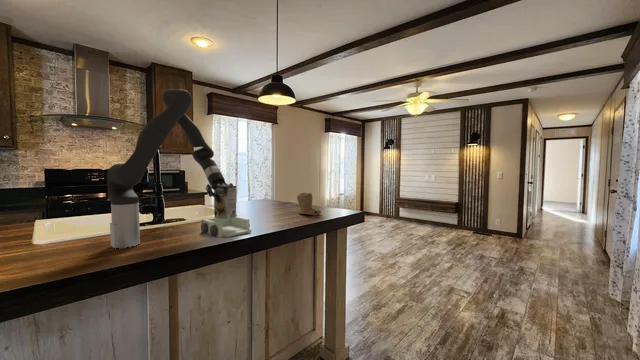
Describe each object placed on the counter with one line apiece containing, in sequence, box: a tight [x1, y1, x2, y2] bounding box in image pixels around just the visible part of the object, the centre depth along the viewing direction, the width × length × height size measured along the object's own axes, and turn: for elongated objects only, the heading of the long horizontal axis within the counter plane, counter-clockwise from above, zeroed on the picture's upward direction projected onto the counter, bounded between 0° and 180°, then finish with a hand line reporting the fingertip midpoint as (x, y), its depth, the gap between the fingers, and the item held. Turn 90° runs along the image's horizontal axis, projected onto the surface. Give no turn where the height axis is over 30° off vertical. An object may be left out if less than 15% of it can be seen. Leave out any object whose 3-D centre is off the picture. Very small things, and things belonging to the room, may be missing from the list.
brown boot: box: [296, 191, 322, 216], centre depth 187 cm, size 15×12×15 cm
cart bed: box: [200, 215, 252, 238], centre depth 137 cm, size 19×21×6 cm
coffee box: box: [213, 185, 237, 220], centre depth 138 cm, size 9×6×16 cm
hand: (226, 200), depth 137 cm, fingers closed on coffee box, 7 cm apart
